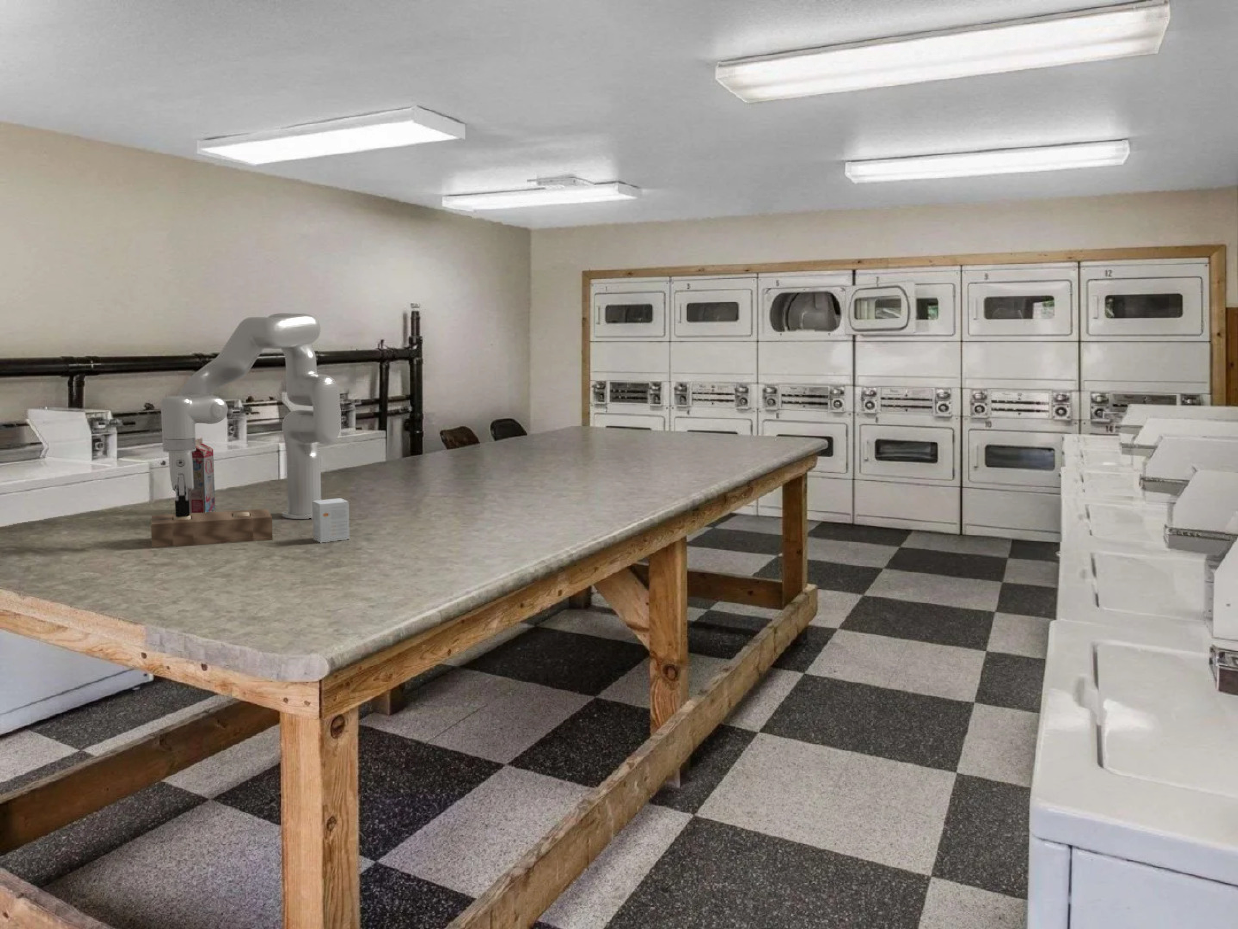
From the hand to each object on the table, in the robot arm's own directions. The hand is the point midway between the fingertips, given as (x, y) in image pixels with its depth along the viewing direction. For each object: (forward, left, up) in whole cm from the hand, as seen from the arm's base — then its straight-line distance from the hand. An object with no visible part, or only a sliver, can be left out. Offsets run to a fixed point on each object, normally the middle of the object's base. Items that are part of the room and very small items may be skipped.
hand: (182, 515), depth 224 cm
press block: (-7, 0, -7) cm, 9 cm away
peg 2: (-14, 0, -6) cm, 15 cm away
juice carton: (-5, -40, -7) cm, 41 cm away
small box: (-35, +11, -7) cm, 37 cm away
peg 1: (0, 0, -6) cm, 6 cm away
